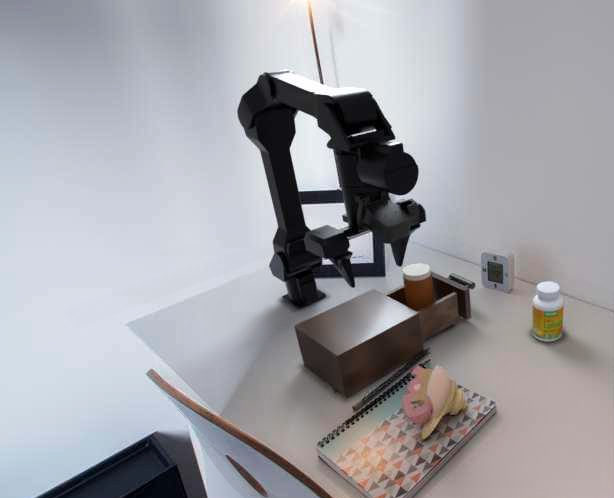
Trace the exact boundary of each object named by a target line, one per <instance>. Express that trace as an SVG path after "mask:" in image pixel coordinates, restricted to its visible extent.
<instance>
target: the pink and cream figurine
mask: <svg viewBox="0 0 614 498" xmlns="http://www.w3.org/2000/svg"><path fill="white" fill-rule="evenodd" d="M410 376H413V377H414V378H413V379H411V380H409V381H408V384H407V387H406V392H407V393H406V394H403V395H402V397H401V403H402V409H403V410H402V411H403V413H404V415H405V418H406V419H407V420H408V421H409V422H413V423H414V424H415V425H422V424H424V425H423V427H422V430H421V440H425V439H427V438H428V437H429V436H430V435H431V434H432V433H433V431H434V430H435V428H436V426H438V424H439V423H440V421H441V420H442V418H443V417H444V416H445V415H447V414H449V415H450V416H453V415H454V416H456V415H457V414H458V413H459V412H460V410H465V409H466V408H467V407H468V405H469V403H468V401H467V400H466V399H465V391H464V390H463V389H462V388H461V387H459V388H458V386H457V382H456V380H454V381H453V379H452V378H450V377H449V375H448V373H447V372H446V371H445V369H444V368H443V367H442V366H440V365H438V364H436V366H434V368H423V367H421V366H420V365H419V364H417V365H416V367H415V368H413V370H412V371H411V372H410ZM412 404H416V405H418V406H416V407H414V408H412V407H413V405H412Z"/></svg>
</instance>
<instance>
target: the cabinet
mask: <svg viewBox="0 0 614 498" xmlns="http://www.w3.org/2000/svg"><path fill="white" fill-rule="evenodd" d="M384 294H385V293H382V292H380V291H379V290H377V289H376V288H373V289H370V290H368V291H366V292H364V293H361V294H360V295H356V296H354V297H353V298H351V299H348V300H347V301H344V302H342V303H340V304H338V305H336V306H333V307H331V308H329V309H327V310H324V311H322V312H320V313H318V314H316V315H314V316H311V317H309V318H307V319H305V320H302V321H301V322H298V323H296V324H295V325H293V327H294V333H295V335H296V336H295V337H296V339H297V344H298V347H299V351H300V356H301V358H302V359H301V360H302V362H303V366H304V367H305V368H307V369H308V370H309V371H310V372H311V373H313V374H314V375H315V376H317V377H318V378H319V379H321V380H322V381H323V382H325V383H326V385H328V386H329V387H331V388H332V389H334V391H336V392H337V393H339V394H340V395H341V396H342V397H344V398H345V399H348V398H350V397H351V396H353V395H355V394H356V393H358V392H360V391H362V390H363V389H365V388H367V387H368V386H370V385H371V384H373V383H375V382H377V381H378V380H380V379H382V378H384V377H385V376H386V375H388V374H390V373H392V372H393V371H395V370H397V369H399V368H400V367H402V366H404V365H405V364H407V363H409V362H411V361H412V360H413V359H415V358H417V357H419V356H421V355H422V354H424V353H425V351H424V350H425V349H424V341H422V333H421V325H420V317H419V313H418V312H416V311H414V310H413V309H411V308H409V307H407V306H405V305H403V304H401V303H399V302H398V301H396V300H394V299H392V298H390V297H388V296H386V295H384Z"/></svg>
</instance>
